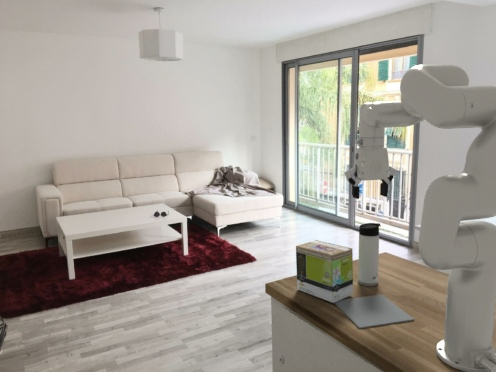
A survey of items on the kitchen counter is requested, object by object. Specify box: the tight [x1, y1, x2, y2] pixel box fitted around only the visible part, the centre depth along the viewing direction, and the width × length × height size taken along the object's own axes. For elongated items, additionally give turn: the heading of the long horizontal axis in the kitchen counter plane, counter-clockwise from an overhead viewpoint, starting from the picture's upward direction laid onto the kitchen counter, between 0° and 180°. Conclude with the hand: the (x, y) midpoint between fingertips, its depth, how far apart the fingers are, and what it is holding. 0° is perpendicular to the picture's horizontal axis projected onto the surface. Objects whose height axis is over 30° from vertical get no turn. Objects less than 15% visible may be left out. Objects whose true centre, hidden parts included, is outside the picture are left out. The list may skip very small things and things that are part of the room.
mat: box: [333, 294, 415, 330], centre depth 117 cm, size 16×16×1 cm
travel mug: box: [357, 222, 382, 287], centre depth 135 cm, size 6×7×20 cm
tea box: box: [295, 239, 354, 304], centre depth 128 cm, size 15×10×15 cm
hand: (369, 197), depth 132 cm, fingers open, 9 cm apart
